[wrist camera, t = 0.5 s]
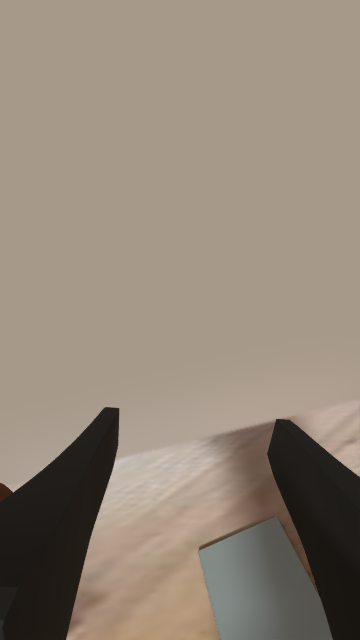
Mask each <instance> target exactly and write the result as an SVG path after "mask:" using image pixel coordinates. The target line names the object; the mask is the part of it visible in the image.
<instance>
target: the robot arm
mask: <svg viewBox="0 0 360 640" xmlns="http://www.w3.org/2000/svg"><path fill="white" fill-rule="evenodd" d="M118 432H119V408H110V407H105V408H104V409H103V410H102V411H101V412H100V413H99V415H98V416H97V417H96V418H95V419H94V420H93V422H92V423H91V424H90V425H89V426H88V427H87V428H86V429H85V430H84V431H83V432H82V433H81V435H80V436H79V437H78V438H77V439H76V440H75V441H74V442H73V443H72V444H71V445H70V446H69V447H68V448H66V449H65V450H64V451H63V452H62V453H61V454H60V455H59V456H58V457H57V458H56V459H55V460H54V461H53V462H51V463H50V464H49V465H48V466H47V467H45V468H44V469H43V470H42V471H41V472H39V473H38V474H37V475H36V476H35V477H33V478H32V479H31V480H29V481H28V482H27V483H25V484H24V485H23V486H21V487H20V488H19V489H17V490H16V491H15V492H13V493H12V494H11V495H9V496H8V497H6V498H5V499H4V500H2V501H1V502H0V640H66V637H67V633H68V629H69V624H70V620H71V616H72V611H73V607H74V603H75V599H76V594H77V590H78V586H79V582H80V578H81V574H82V569H83V565H84V561H85V557H86V553H87V549H88V545H89V541H90V538H91V534H92V531H93V528H94V524H95V521H96V518H97V515H98V512H99V509H100V506H101V503H102V500H103V497H104V494H105V491H106V488H107V485H108V482H109V479H110V476H111V473H112V470H113V466H114V462H115V457H116V452H117V448H118V435H119V434H118ZM267 454H268V458H269V462H270V465H271V469H272V472H273V475H274V478H275V481H276V483H277V485H278V488H279V490H280V493H281V495H282V497H283V500H284V502H285V504H286V507H287V509H288V511H289V514H290V516H291V518H292V521H293V523H294V525H295V528H296V530H297V532H298V535H299V537H300V540H301V542H302V545H303V547H304V550H305V553H306V556H307V559H308V562H309V565H310V568H311V571H312V574H313V577H314V580H315V583H316V586H317V589H318V592H319V596H320V599H321V602H322V605H323V608H324V611H325V615H326V618H327V621H328V625H329V628H330V632H331V635H332V639H333V640H360V477H359V476H357V475H356V474H355V473H354V472H352V471H351V470H350V469H348V468H347V467H346V466H344V465H343V464H342V463H341V462H339V461H338V460H337V459H336V458H335V457H333V456H332V455H331V454H330V453H328V452H327V451H326V450H325V449H324V448H323V447H321V446H320V445H319V444H318V443H317V442H315V441H314V440H313V439H312V438H311V437H310V436H308V435H307V434H306V433H305V432H304V431H303V430H301V429H300V428H299V427H298V426H297V425H295V424H294V423H293V422H292V421H290V420H284V419H276V423H275V427H274V431H273V434H272V438H271V442H270V446H269V450H268V453H267Z"/></svg>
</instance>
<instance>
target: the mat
mask: <svg viewBox="0 0 360 640" xmlns="http://www.w3.org/2000/svg"><path fill="white" fill-rule="evenodd" d="M198 553H199V557H200V561H201V565H202V569H203V573H204V577H205V581H206V585H207V589H208V593H209V597H210V601H211V605H212V609H213V613H214V617H215V621H216V625H217V629H218V632H219V636H220V640H333V639H332V635H331V632H330V628H329V625H328V621H327V618H326V615H325V611H324V608H323V605H322V602H321V599H320V597H319V595H318V593H317V591H316V589H315V587H314V585H313V584H312V582H311V580H310V578H309V576H308V574H307V572H306V570H305V569H304V567H303V565H302V563H301V561H300V559H299V557H298V555H297V553H296V552H295V550H294V548H293V546H292V544H291V542H290V540H289V538H288V537H287V535H286V533H285V531H284V529H283V527H282V525H281V523H280V521H279V520H278V518H277V516H275V517H273V518H270V519H268V520H266V521H264V522H262V523H259V524H257V525H255V526H253V527H250V528H248V529H246V530H244V531H242V532H239V533H237V534H235V535H233V536H231V537H228V538H226V539H224V540H222V541H220V542H217V543H215V544H213V545H211V546H209V547H206V548H204V549H202V550H200V551H198Z"/></svg>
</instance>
